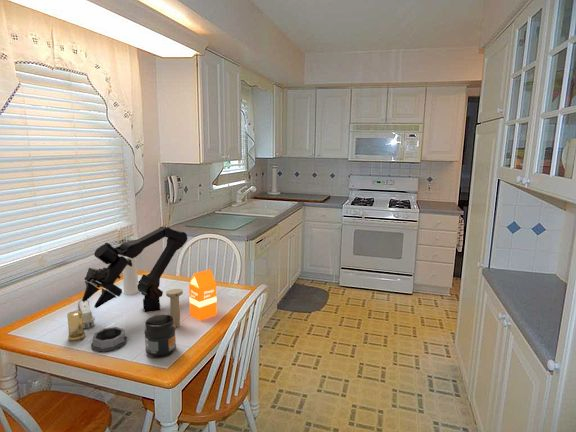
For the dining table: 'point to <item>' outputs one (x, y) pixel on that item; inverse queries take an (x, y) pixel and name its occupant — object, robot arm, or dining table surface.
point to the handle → (175, 304)
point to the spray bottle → (130, 277)
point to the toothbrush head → (86, 313)
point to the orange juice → (203, 295)
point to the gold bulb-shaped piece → (75, 326)
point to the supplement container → (160, 336)
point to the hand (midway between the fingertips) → (88, 304)
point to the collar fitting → (108, 339)
